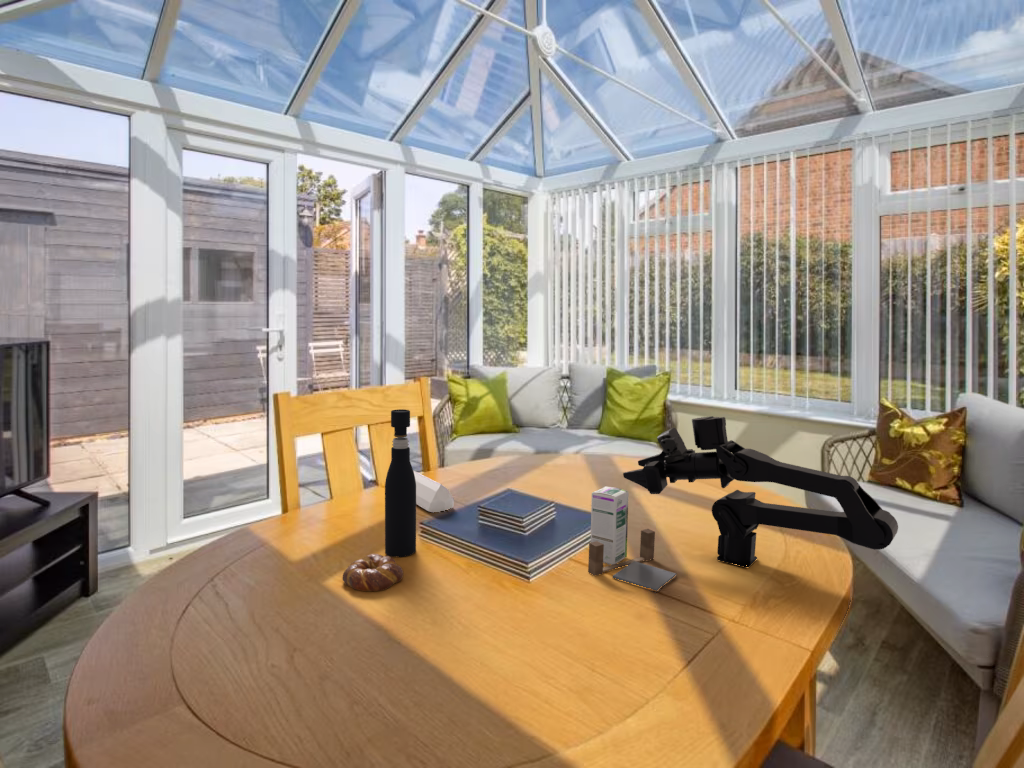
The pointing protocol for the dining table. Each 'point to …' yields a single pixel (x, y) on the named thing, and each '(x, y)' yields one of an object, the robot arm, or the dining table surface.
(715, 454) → the robot arm
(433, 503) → the crystal
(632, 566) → the slate tile
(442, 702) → the dining table surface
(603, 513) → the syrup box
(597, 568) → the gate
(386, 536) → the black water bottle
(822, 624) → the dining table surface
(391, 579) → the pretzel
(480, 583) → the dining table surface
